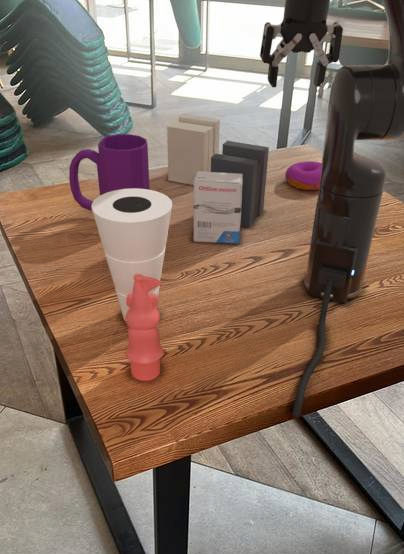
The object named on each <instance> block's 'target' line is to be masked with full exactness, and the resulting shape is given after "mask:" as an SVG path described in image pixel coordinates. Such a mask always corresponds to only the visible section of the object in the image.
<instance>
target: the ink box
mask: <svg viewBox="0 0 404 554" xmlns="http://www.w3.org/2000/svg"><path fill="white" fill-rule="evenodd" d="M242 181H243V174H236V173H218V172H202V171H198V172H197V173H196V176H195V179H194V185H193V231H192V232H193V237H192V239H193V242H195V243H196V242H198V243H212V244H213V243H215V244H233V245H238V244H239V243H240V236H241V235H240V234H241V226H240V221H241V203H242Z"/></svg>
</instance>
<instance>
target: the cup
mask: <svg viewBox="0 0 404 554" xmlns="http://www.w3.org/2000/svg"><path fill="white" fill-rule="evenodd" d="M92 201H93V203H92V206H91V207H92V211H91V212H92V214H93V217H94V222H95V225H96V228H97V232H98V235H99V239H100V243H101V246H102V247H103V252H104V255H105V259H106V262H107V265H108V266H107V267H108V269H109V273H110V276H111V279H112V283H113V285H114V290H115V293H116V296H117V300H118V303H119V307H120V310H121V314H122V317H123V320H124V321H125V322H126V320H125V316H126V313H127V311H128V310H129V309H130V308H129V307H128V306H127V304H126V298H127V295H128V294H130V293H133V285H134V281H135V280H134V275H135V274H141V275H143V276H145V277H151V278H155V279H157V280H159V281H161V280H162V279H161V278H162V273H163V266H164V260H165V255H166V248H167V247H166V245H167V243H168V235H169V229H170V222H171V216H172V210H173V209H172V208H173V201H172V199H171V198H169V196H167V195H166V194H164V193H162V192H161V191H160V192H159V191H156V190H153V189H150V190H148V189H136V188H132V189H120V190H115V191H111V192H108V193H105V194H103V195H101V196H100V195H98V196H97V197H96V198H95V199H94V200H92ZM160 287H161V286H157V287H156V288H154V289H152V290H150V291H149V292H148V293H149V294H152V293H155V294H156V295H157V298H159V294H160V293H159V292H160ZM155 308H156V309H157V307H155Z"/></svg>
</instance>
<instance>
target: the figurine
mask: <svg viewBox="0 0 404 554" xmlns="http://www.w3.org/2000/svg"><path fill="white" fill-rule="evenodd" d="M134 280H135V281H134V285H133V293H130V294H128V295H127V298H126V304H127V306H128V307H129V308H130V309H129V310H128V311H127V313H126V316H125V320H126V321H125V320H124V321H125V323H126V325H127V327H128V329H127V341H128V345H127V347H126V350H125V356H126V358H127V359H128V360H129V361H130V373H131V376H132V378H134V379H136V380H138V381H142V382H148V381H152V380H154V379H156V378H158V376H159V375H160V373H161V359H162V357H163V355H164V348H163V346H162V345H161V340H160V339H161V338H160V332H159V329H158V326H159V324H160V321H161V313H160V311H159V310H158V309H157V307H158V305H159V299H158V298H159V297H158V298H157V295H156V294H155V293H152V294H149V293H148V292H149V291H150V290H152V289H154V288H156V287H157V286H160V287H161V286H163V284H164V283H163V282H162V281H161V280H160V281H159V280H157V279H155V278H151V277H145V276H143V275H141V274H135V275H134ZM155 307H156V308H155Z"/></svg>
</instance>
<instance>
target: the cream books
mask: <svg viewBox="0 0 404 554" xmlns="http://www.w3.org/2000/svg"><path fill="white" fill-rule="evenodd" d="M220 123H221V119H220V118H213V117H208V116H207V117H206V116H198V115H192V114H185V113H182V114H181V115H179V116H178V121H177V122H176V123H170V124H169V125H167V126H166V134H167V135H166V138H167V139H166V141H167V181H168V182H175V183H179V184H185V185H189V186H190V185H191V186H194V179H195V176H196V173H197V172H198V171H202V172H211V157H212V156H213V155H215V154H220V128H221V127H220V126H221V124H220Z"/></svg>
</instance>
